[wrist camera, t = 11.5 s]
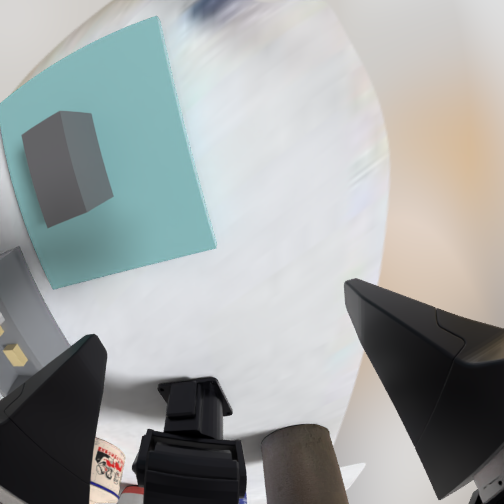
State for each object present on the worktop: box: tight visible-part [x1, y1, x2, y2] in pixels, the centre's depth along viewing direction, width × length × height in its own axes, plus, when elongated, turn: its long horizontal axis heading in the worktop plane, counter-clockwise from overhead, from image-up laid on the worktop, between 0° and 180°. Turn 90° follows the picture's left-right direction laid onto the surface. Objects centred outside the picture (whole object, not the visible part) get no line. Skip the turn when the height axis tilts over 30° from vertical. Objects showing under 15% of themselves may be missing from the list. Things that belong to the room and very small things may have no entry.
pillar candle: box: [261, 424, 349, 504], centre depth 26 cm, size 10×10×15 cm
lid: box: [0, 16, 217, 290], centre depth 15 cm, size 17×15×6 cm
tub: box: [0, 247, 71, 398], centre depth 20 cm, size 16×14×5 cm
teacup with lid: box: [89, 438, 125, 504], centre depth 27 cm, size 12×9×12 cm
